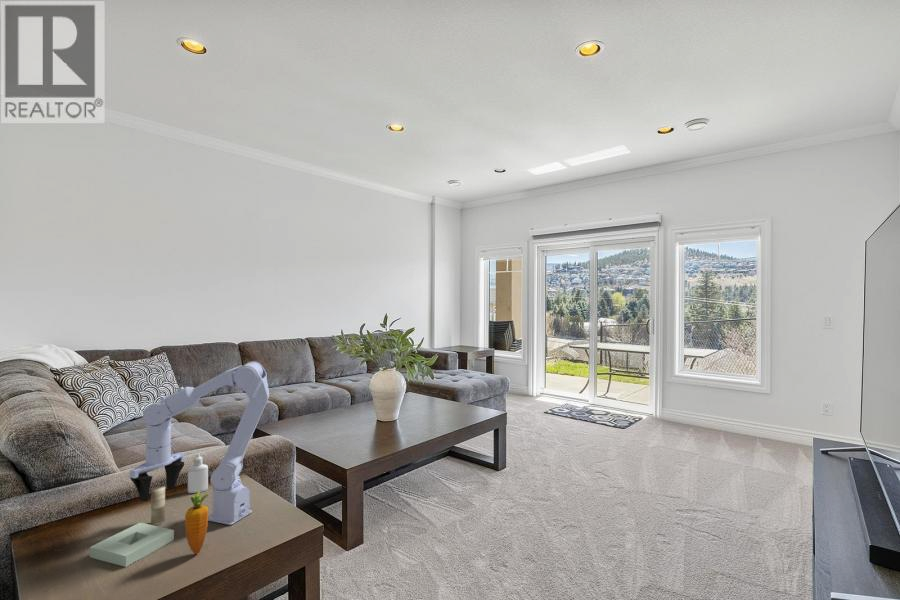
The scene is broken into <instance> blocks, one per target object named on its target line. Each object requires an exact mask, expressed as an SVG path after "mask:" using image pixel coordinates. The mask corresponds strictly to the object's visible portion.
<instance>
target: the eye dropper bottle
mask: <svg viewBox="0 0 900 600" xmlns="http://www.w3.org/2000/svg"><path fill="white" fill-rule="evenodd" d="M208 487H209V466H208V464H204V463H203V456H201V454H200V453H196V457H194V458H193V465H192V466H190V467H189V468H188V470H187V493H188V494H196V493H197V492H198V491H200V493H202V492H205V491H207V490H208V489H209V488H208Z"/></svg>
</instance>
